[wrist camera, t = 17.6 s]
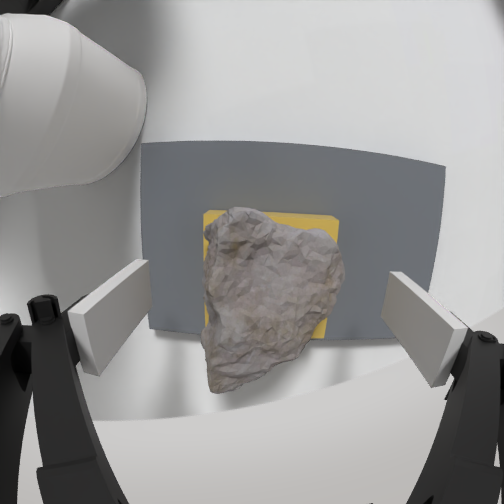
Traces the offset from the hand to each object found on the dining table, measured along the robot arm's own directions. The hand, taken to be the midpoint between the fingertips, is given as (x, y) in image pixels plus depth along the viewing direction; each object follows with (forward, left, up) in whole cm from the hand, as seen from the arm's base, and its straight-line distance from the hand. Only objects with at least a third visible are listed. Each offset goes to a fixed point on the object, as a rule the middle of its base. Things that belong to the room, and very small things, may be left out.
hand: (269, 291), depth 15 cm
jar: (-15, +11, -6) cm, 20 cm away
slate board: (+2, +1, -6) cm, 7 cm away
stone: (-1, -1, -3) cm, 3 cm away
